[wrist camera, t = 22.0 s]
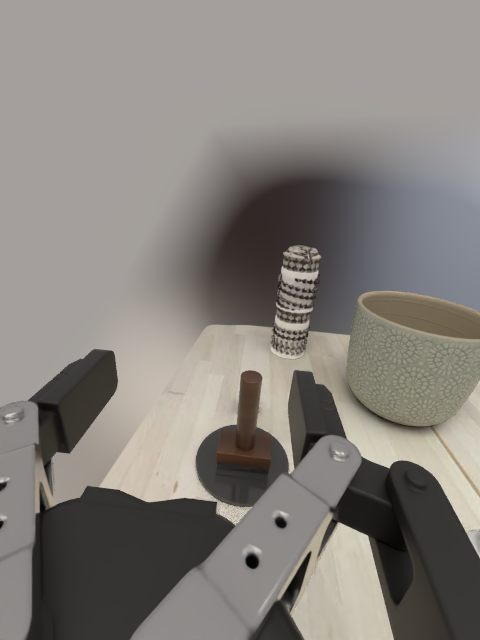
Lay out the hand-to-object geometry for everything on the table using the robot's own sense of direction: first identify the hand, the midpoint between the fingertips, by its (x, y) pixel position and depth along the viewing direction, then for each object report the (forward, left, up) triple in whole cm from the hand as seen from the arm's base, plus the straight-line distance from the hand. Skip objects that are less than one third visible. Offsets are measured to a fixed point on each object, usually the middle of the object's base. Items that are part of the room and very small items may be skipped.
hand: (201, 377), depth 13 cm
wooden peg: (+6, +18, -27) cm, 33 cm away
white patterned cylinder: (+22, +49, -27) cm, 60 cm away
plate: (+6, +18, -27) cm, 33 cm away
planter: (+37, +29, -27) cm, 54 cm away
